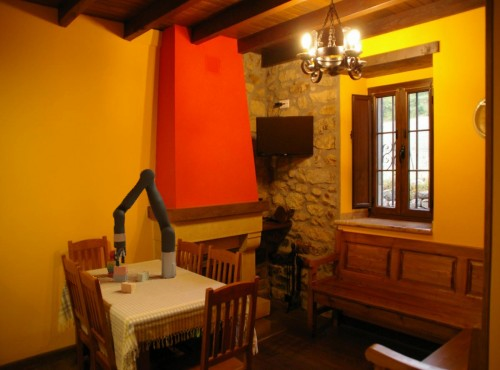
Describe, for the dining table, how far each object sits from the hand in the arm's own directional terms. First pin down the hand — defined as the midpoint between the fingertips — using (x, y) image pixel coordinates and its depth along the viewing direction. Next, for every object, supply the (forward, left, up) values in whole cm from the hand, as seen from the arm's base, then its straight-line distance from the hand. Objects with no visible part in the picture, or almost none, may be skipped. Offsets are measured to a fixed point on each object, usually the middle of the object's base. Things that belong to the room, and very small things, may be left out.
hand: (120, 264), depth 263 cm
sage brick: (-14, -4, -11) cm, 18 cm away
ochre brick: (-14, +21, -11) cm, 27 cm away
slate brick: (0, 0, -11) cm, 11 cm away
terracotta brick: (0, 0, -6) cm, 6 cm away
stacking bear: (+10, -14, -11) cm, 21 cm away
